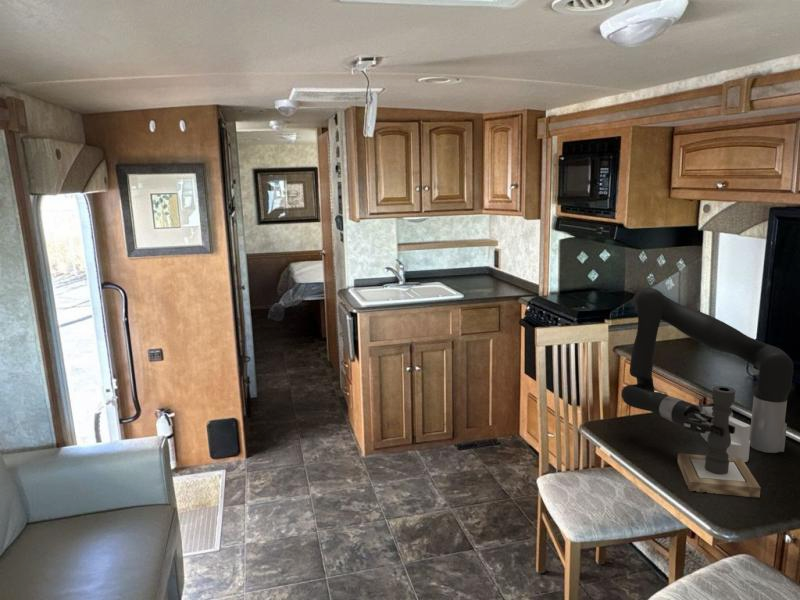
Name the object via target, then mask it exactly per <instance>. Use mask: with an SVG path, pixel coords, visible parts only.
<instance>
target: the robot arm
mask: <svg viewBox="0 0 800 600" xmlns="http://www.w3.org/2000/svg"><path fill="white" fill-rule="evenodd" d="M632 299H633V300H632V301H633V302H632V303H633V306H634V308H635V309H636V311H637V330H636V336H635V339H634V342H633V346H632V350H631V351H632V352H631V356H630V363H629V364H630V365H629V375H631V376H632V377H633V378H636V384H627V385H626V386H625V387H623V388H622V390H621V399H622V400H623V401H624V403H625V404H626V405H628V406H629V407H632V408H635V409H638V410H642V411H643V410H644V411H646V412H647V411H648V412H651V413H654V414H655V415H658V416H660V417H662V418H664V419H665V420H668V421H669V422H672V423H674V424H676V425H678V426H681V427H683V429H685V430H688V431H692V432H697V433H700V434H701V433H705V432H708V433H711V432H712V433H714V434H716V435H718V436H721V437H724V436H725V430H724V429H722V428H720V427H717V426H715V425H713V422H714V412H712V415H708V414H707V413H704V412H702V411H701V410H700V409H699V407H698V406H697V404H694V403H691V402H688V401H686V400H683V399H680V398H679V397H675V396H670V395H668V394H665V393H663V392H660V391H655V386H654V379H653V369H654V361H655V353H656V352H655V351H656V345H657V337H658V332H659V327H660V323H661V321H662V322H664V323H667V324H669V325H670V326H671V327H672V326H673V327H674V328H675V329H676V330H678V331H679V332H681V333H682V334H684V335H686V336H688V337H689V338H691V339H692V340H694V341H696V342H698V343H700V344H702V345H704V346H706V347H709V348H711V349H714V350H715V351H719V352H723V353H727V354H730V355H733V356H736V357H739V358H740V359H742V360H744V361H746V363H749V364H750V365H752V366H754V367H755V368H756V369H758V370H759V371H758V381H757V385H755V387H754V391H753V397H752V399H753V400H752V410H751V420H750V425H751V428H750V438H749V440H750V447H751V448H752V449H753V450H756V451H758V452H759V451H760V452H763V453H768V454H770V453H771V454H776V453H784V452H785V445H786V444H785V443H786V437H787V436H786V435H787V428H788V427H787V426H788V424H787V423H786V422H785V421H786V414H787V403H788V396H789V394H790V393H791V388H792V382H793V378H794V377H793V375H794V362H793V360H792V358H791V357H790V355H788V354H787V353H786V352H785V351H784V350H782V349H781V348H778V347H777V346H774V345H772V344H768V343H765V342H763V341H760V340H758V339H755V338H753V337H750V336H748V335H747V334H745V333H743V332H741V331H740V330H738V329H737V328H735V327H733V326H731V325H729V324H727V323H725V322H724V321H722V320H720V319H718V318H716V317H714V316H711V315H710V314H707V313H705V312H701V311H700V310H698V309H693V308H692V307H691V308H690V307H687V306H685V305H684V304H683V305H682V304H680V303H678V302H677V301H675V300H673V299H671V298H669V297H667V296H666V295H665V294H663V293H662V291H660V290H658V289H657V288H654V287H643V288H641V289H639V290H638V291H636V292H635V294H634V296H633V298H632ZM711 421H712V424H711ZM728 425H729V431H730V433H731V434H733V433H735V427H734V426H732V425H730V424H728Z"/></svg>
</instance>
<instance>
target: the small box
mask: <svg viewBox="0 0 800 600" xmlns="http://www.w3.org/2000/svg"><path fill="white" fill-rule="evenodd" d="M712 407H713V406H702V408H701V412H704V413H707V414H708V415H712V412H713V410H712ZM729 416H730V417H732V418H734V413H733V412H732V413H731V414H730V415H729ZM711 424H712V421H711ZM708 435H709V433H708V432H705V433H700V436H701V437H702V438H703V440H704V441H705V442H707V443H708Z"/></svg>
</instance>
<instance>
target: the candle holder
mask: <svg viewBox="0 0 800 600" xmlns="http://www.w3.org/2000/svg"><path fill="white" fill-rule="evenodd" d="M711 395H712V396H711V399H712V402H713V404H714V405H713V406H711V407H712V410H713V412H714V422H713V425H715V426H717V427H720V428H722V429H724V430H725V436H724V437H721V436H718V435H716V434H714V433H712V432H711V433H709V435H708V442H707V443H708V445H709V447H710V449H708V450H707V452H706V455H705V456H706V460H705V469H706V470H707V471H709V472H711V473H714V474H721V475H722V474H727V473H728V469H729V460H728V457H729V455H728V454H727V452H726V451H727V448H728V447H729V446H730V444H731V437H730V431H729V425H728V423H729V415H730V414H731V413H733V409H732V406H733V405H734V403H735V399H736V398H735V397H736V389H734V388H733V387H730V386H725V385H716V386H713V388H712V394H711Z"/></svg>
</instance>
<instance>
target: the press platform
mask: <svg viewBox="0 0 800 600" xmlns="http://www.w3.org/2000/svg"><path fill="white" fill-rule="evenodd" d="M690 462H691V464H692V466H693V468H694V470H695V472H696V475H697V477H698V478H703V479H715V480H726V481H738V482H745V480H744V478H743V477H742V475H741V473H740V472H739V470H738V469H737V467H736V465H735V464H734V462H729V469H728V473H727V474H722V475H721V474H714V473H711V472H709V471H707V470H706V469H705V460H701V459H690Z"/></svg>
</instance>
